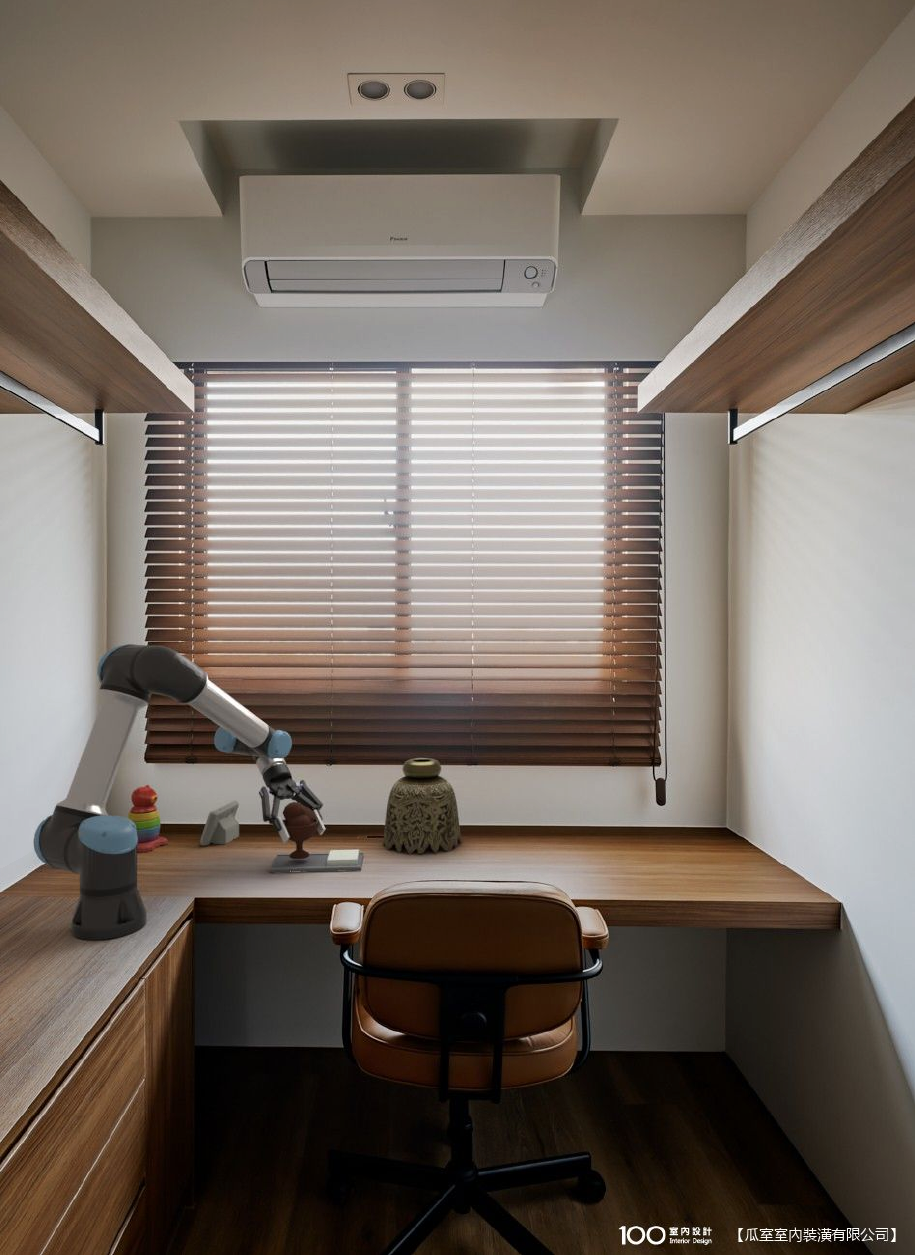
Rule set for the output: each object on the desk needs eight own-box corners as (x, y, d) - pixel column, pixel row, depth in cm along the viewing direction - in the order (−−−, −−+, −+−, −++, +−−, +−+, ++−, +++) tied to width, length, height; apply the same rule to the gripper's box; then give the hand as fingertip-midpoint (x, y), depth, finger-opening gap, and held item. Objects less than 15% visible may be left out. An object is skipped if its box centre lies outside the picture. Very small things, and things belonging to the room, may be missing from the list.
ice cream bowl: (311, 863, 214) (310, 807, 213) (272, 860, 216) (271, 805, 216) (325, 851, 224) (325, 798, 224) (288, 849, 226) (287, 796, 226)
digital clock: (226, 831, 254) (225, 798, 253) (249, 834, 250) (249, 800, 250) (190, 845, 239) (190, 810, 238) (215, 849, 235) (215, 812, 235)
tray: (269, 872, 213) (269, 868, 213) (277, 858, 226) (277, 854, 226) (360, 870, 215) (360, 866, 214) (363, 856, 227) (363, 852, 227)
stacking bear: (146, 853, 231) (145, 791, 231) (117, 850, 234) (117, 789, 234) (171, 843, 241) (170, 784, 241) (143, 840, 245) (142, 781, 244)
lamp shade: (454, 856, 227) (453, 768, 226) (374, 853, 230) (374, 766, 230) (466, 834, 250) (465, 754, 249) (394, 831, 253) (393, 752, 253)
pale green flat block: (327, 866, 215) (327, 860, 215) (330, 855, 225) (330, 849, 225) (357, 865, 216) (357, 859, 216) (359, 854, 226) (359, 848, 226)
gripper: (304, 772, 239) (334, 835, 228) (232, 784, 223) (262, 852, 212) (313, 757, 235) (345, 820, 224) (241, 768, 219) (272, 836, 208)
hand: (305, 836), depth 218 cm, fingers closed on ice cream bowl, 11 cm apart
